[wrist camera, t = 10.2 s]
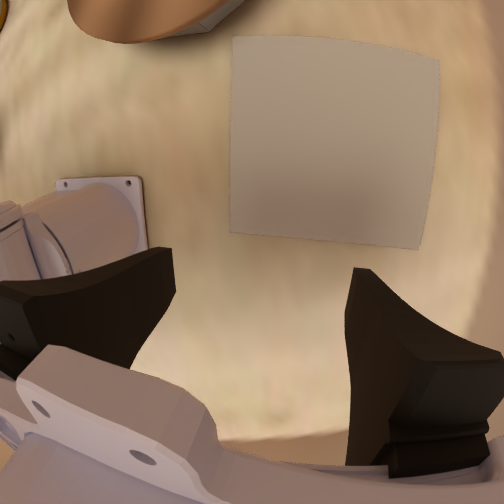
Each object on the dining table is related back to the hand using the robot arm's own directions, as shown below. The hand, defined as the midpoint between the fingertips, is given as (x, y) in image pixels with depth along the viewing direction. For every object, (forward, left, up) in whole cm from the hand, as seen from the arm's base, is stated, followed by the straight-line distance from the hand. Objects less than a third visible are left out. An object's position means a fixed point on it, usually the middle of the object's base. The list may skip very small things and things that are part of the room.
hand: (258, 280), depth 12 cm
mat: (+3, +5, -10) cm, 12 cm away
